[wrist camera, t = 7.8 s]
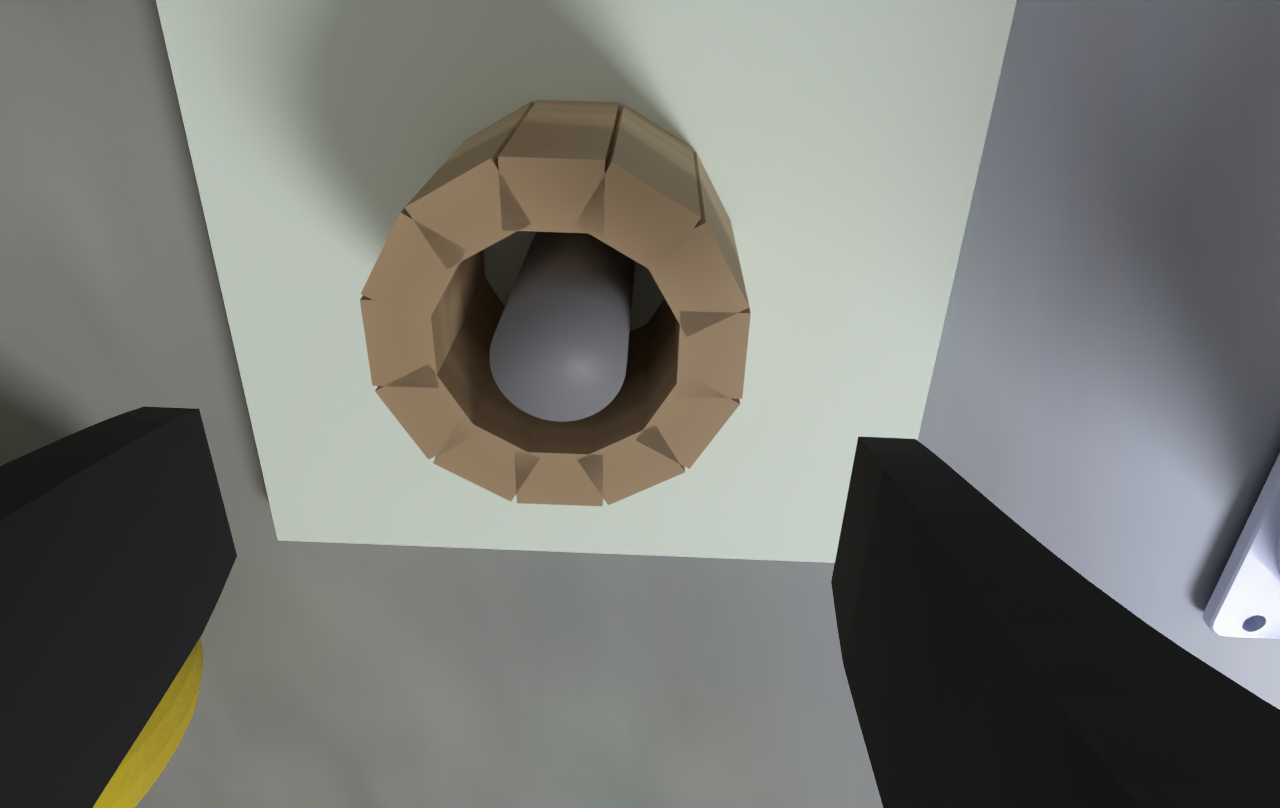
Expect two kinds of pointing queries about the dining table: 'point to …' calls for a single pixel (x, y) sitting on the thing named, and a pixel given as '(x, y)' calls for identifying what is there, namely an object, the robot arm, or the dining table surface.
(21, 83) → the dining table surface
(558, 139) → the bead
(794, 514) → the white board with peg
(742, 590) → the dining table surface
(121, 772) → the lemon
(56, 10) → the dining table surface
